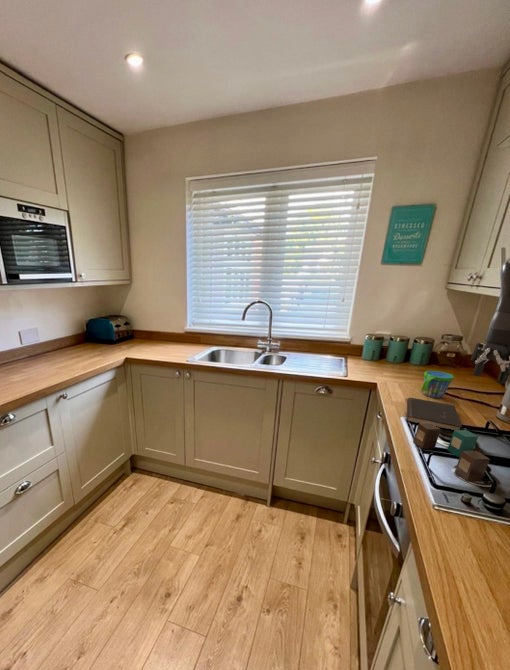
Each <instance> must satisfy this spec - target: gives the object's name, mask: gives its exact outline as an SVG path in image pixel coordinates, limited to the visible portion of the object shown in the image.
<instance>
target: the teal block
mask: <svg viewBox="0 0 510 670" xmlns="http://www.w3.org/2000/svg"><path fill="white" fill-rule="evenodd" d="M478 438H479V436H478V435H476V434H474V432H471V431H469V430H467V429H460V430H454V431H452V434H451V438H450V441H449V444H448V446H447V450H446V451H448V452H449V453H450V454H451V455H454V456H456V457H457V458H460V455H461V453H462V451H474V449H475V446H476V444H477V441H478Z"/></svg>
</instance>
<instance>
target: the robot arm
mask: <svg viewBox="0 0 510 670" xmlns="http://www.w3.org/2000/svg"><path fill="white" fill-rule="evenodd" d="M499 281H500V290H499V291H500V292H499V298H498V302H497V305H496V307H495V311H494V314H493V315H492V318H491V320H490V323H489V327H488V330H487V334H486V337H485V339H484V340H485V342H476V344H475V347H474V350H473V352H472V355H471V357H470V361H472V362H474V364H475V366H474V369H473V376H475V377H481V376H482V375H483V371H484V368H485V364H486V363H487V362H488V361H493V362H497V365H499V367H500V371H499V374H498V377H497V379H496V383H497V384H506V383H507V382H508V380H509V377H510V257H507V259H505V261H504V262H503V263H502V265H501V267H500V271H499Z"/></svg>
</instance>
